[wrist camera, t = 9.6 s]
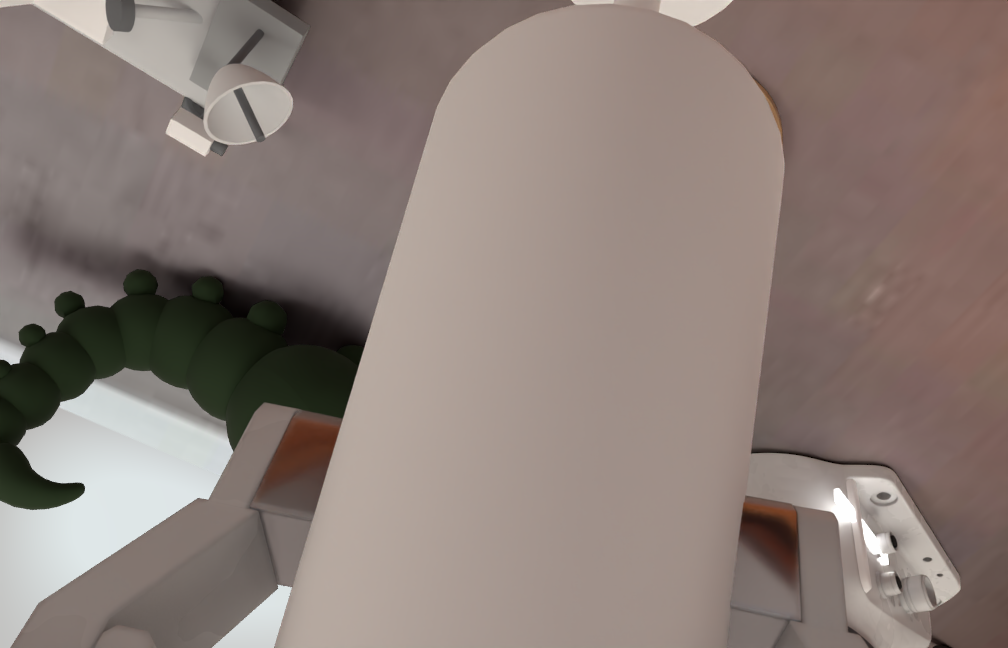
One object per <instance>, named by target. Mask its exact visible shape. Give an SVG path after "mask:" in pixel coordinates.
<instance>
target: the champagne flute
mask: <svg viewBox="0 0 1008 648" xmlns="http://www.w3.org/2000/svg"><path fill="white" fill-rule="evenodd" d="M571 1H572V2H573V3H575V4H576V5H572V6H568V7H563V8H559V9H555V10H551V11H547V12H542V13H538V14H536V15H534V16H532V17H530V18H527V19H525V20H523V21H521V22H519V23H517V24H514V25H512V26H510V27H508V28H506V29H505V30H503V31H502V32H501V33H499V34H498V35H497V36H495V37H494V38H493V39H491V40H490V41H489V42H487V43H486V44H485V45H484V46H482V47H481V48H480V49H478V50H477V51H476V52H475V53H474V54H473V55H471V57H470V58H469V59H468V60H467V61H466V63H465V64H464V65H463V66H462V67H461V68H460V70H459V71H458V72H457V73H456V74H455V76H454V77H453V78H452V79H451V80H450V82H449V84H448V86H447V88H446V90H445V92H444V94H443V96H442V98H441V100H440V102H439V104H438V106H437V108H436V111H435V115H434V118H433V121H432V125H431V128H430V131H429V135H428V138H427V141H426V145H425V148H424V151H423V155H422V158H421V161H420V165H419V168H418V171H417V175H416V178H415V181H414V185H413V188H412V191H411V195H410V198H409V201H408V204H407V208H406V211H405V214H404V218H403V221H402V224H401V228H400V231H399V234H398V238H397V241H396V244H395V248H394V251H393V254H392V258H391V261H390V264H389V268H388V271H387V274H386V278H385V281H384V284H383V288H382V291H381V294H380V297H379V301H378V304H377V307H376V311H375V314H374V317H373V321H372V324H371V327H370V331H369V334H368V337H367V341H366V344H365V347H364V351H363V354H362V357H361V361H360V364H359V367H358V371H357V374H356V377H355V381H354V384H353V387H352V390H351V394H350V397H349V400H348V404H347V407H346V410H345V414H344V417H343V420H342V424H341V427H340V430H339V434H338V437H337V440H336V444H335V447H334V450H333V454H332V457H331V460H330V464H329V467H328V470H327V474H326V477H325V480H324V484H323V487H322V491H321V494H320V497H319V501H318V504H317V507H316V511H315V514H314V518H313V520H312V523H311V527H310V530H309V533H308V537H307V540H306V543H305V547H304V550H303V553H302V557H301V560H300V563H299V567H298V570H297V573H296V577H295V580H294V583H293V586H292V590H291V593H290V596H289V600H288V603H287V606H286V610H285V613H284V617H283V620H282V623H281V627H280V630H279V633H278V636H277V640H276V643H275V647H274V648H727V646H728V638H729V629H730V618H731V607H730V601H731V594H732V586H733V578H734V570H735V562H736V554H737V547H738V539H739V531H740V524H741V517H742V509H743V503H744V501H745V495H746V489H747V481H748V472H749V464H750V456H751V447H752V439H753V431H754V423H755V414H756V406H757V398H758V389H759V381H760V373H761V364H762V356H763V348H764V340H765V331H766V323H767V315H768V306H769V298H770V290H771V282H772V273H773V265H774V257H775V248H776V240H777V232H778V224H779V215H780V207H781V199H782V190H783V180H784V170H785V162H784V155H783V147H782V140H781V134H780V131H779V129H778V126H777V124H776V121H775V119H774V116H773V114H772V111H771V109H770V106H769V104H768V102H767V100H766V98H765V96H764V94H763V92H762V91H761V89H760V88H759V87H758V85H757V84H756V82H755V81H754V79H753V78H752V76H751V75H750V74H749V72H748V71H747V69H746V68H745V66H744V65H743V64H742V63H741V62H740V61H738V60H737V59H736V58H735V57H734V56H733V55H732V54H731V53H730V52H729V51H728V50H727V49H725V48H724V47H723V46H722V45H721V44H720V43H719V42H718V41H716V40H715V39H713V38H711V37H710V36H708V35H706V34H705V33H703V32H701V31H700V30H698V29H696V28H695V27H693V26H695V25H698V24H700V23H702V22H705V21H706V20H708V19H710V18H711V17H713V16H714V15H716V14H717V13H719V12H720V11H722V10H723V9H724V8H725V7H727V6H728V5H729V4H730V3H731V2H732V1H733V0H571Z"/></svg>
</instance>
